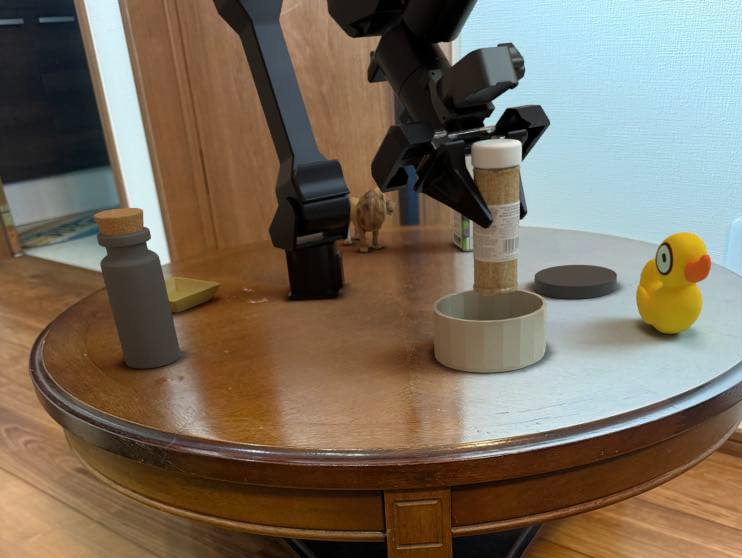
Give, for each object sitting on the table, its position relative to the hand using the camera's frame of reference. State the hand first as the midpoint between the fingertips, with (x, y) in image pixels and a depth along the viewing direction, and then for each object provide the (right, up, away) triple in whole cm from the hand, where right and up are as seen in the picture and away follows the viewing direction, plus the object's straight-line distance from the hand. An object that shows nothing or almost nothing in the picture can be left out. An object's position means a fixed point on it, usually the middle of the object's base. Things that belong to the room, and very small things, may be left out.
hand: (506, 221), depth 75 cm
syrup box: (+1, +15, +47) cm, 49 cm away
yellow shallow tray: (-39, +1, +30) cm, 49 cm away
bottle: (-37, -10, +12) cm, 40 cm away
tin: (-1, -11, +7) cm, 13 cm away
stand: (+12, +2, +25) cm, 28 cm away
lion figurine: (-15, +16, +51) cm, 56 cm away
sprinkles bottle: (-1, -5, +5) cm, 7 cm away
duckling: (+18, -8, +10) cm, 22 cm away
